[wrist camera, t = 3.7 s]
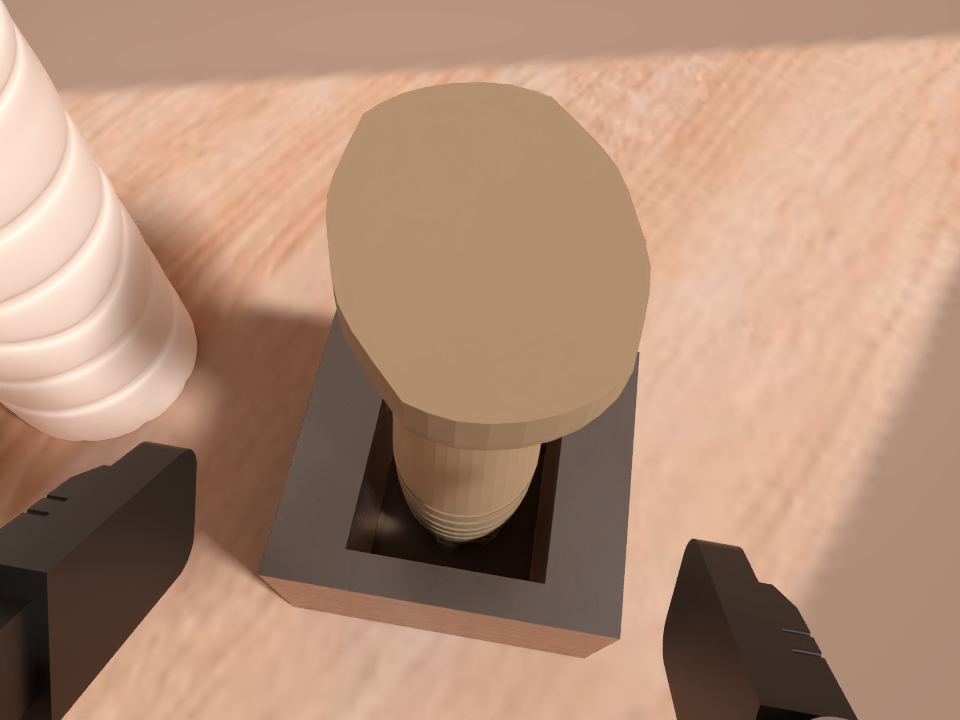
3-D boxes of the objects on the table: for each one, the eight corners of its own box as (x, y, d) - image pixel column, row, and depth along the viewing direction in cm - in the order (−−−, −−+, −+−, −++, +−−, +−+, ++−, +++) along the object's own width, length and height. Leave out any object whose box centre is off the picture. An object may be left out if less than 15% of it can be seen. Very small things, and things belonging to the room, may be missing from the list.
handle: (512, 408, 26) (588, 71, 13) (550, 590, 23) (697, 397, 10) (378, 427, 26) (314, 94, 12) (400, 616, 23) (347, 447, 10)
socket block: (293, 606, 23) (257, 574, 18) (355, 374, 27) (338, 302, 22) (584, 658, 23) (620, 639, 18) (605, 416, 26) (639, 351, 22)
